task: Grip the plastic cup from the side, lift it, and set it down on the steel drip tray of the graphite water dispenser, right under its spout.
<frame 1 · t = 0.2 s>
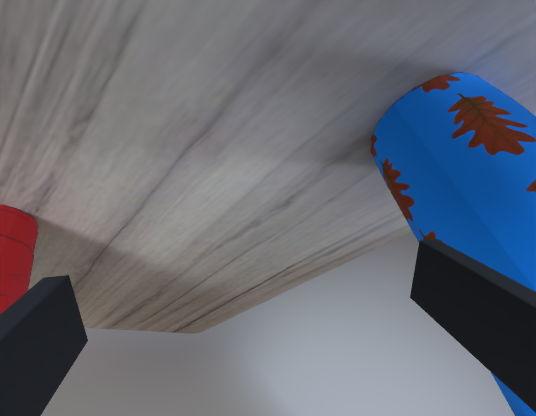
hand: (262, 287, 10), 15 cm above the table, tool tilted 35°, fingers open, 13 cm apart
plastic cup: (6, 219, 27), on the table
thermos: (424, 126, 25), on the table
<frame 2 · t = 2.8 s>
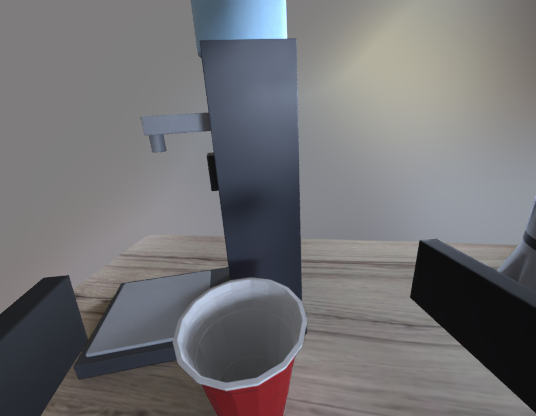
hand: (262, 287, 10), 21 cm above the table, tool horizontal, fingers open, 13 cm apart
plastic cup: (252, 415, 25), on the table
water dispenser: (163, 317, 39), on the table
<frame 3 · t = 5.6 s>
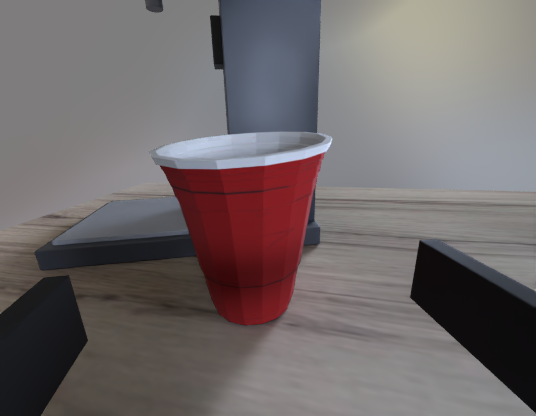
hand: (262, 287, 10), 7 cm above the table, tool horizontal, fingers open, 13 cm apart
plastic cup: (251, 302, 20), on the table
water dispenser: (151, 231, 33), on the table
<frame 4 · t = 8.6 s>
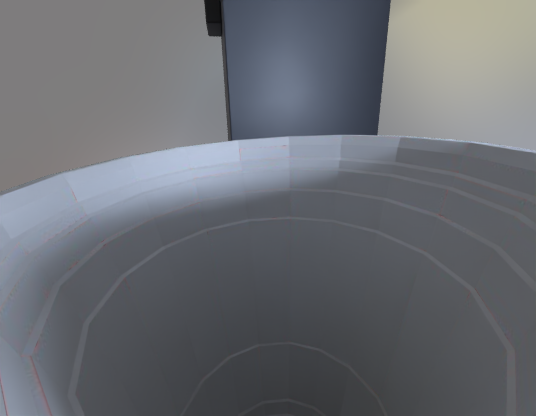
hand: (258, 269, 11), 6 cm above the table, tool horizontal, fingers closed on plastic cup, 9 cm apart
water dispenser: (115, 279, 22), on the table
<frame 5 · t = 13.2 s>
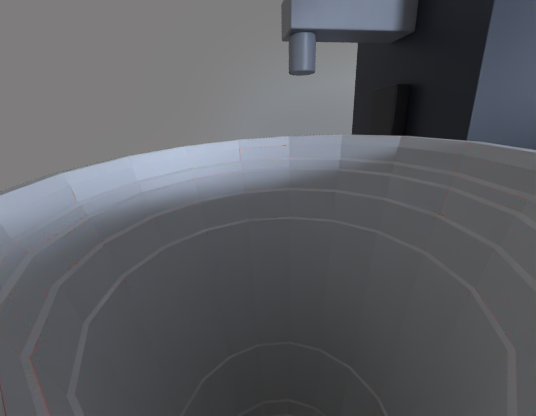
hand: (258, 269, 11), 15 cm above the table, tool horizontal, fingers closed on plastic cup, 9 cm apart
water dispenser: (254, 377, 23), on the table
when the fingers open (9 cm above the table, at t = 18.0 s): plastic cup stays where it is, resting on water dispenser.
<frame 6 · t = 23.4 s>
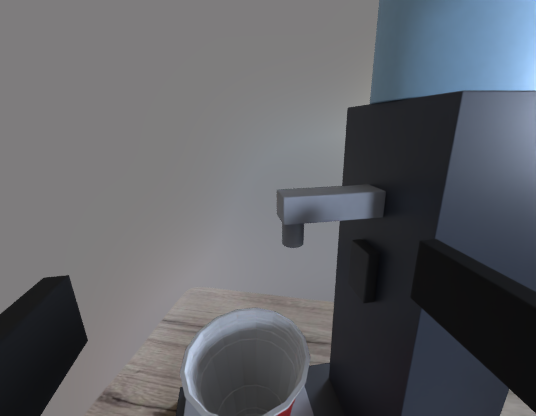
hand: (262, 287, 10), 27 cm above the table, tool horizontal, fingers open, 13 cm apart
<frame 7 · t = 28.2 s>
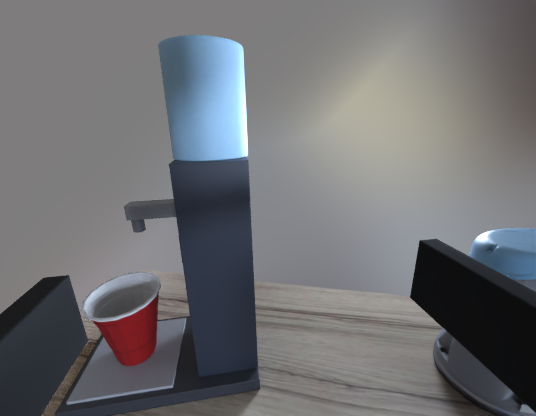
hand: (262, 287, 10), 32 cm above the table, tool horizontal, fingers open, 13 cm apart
plastic cup: (136, 353, 43), point 2 cm above the table, touching water dispenser
water dispenser: (139, 364, 44), on the table
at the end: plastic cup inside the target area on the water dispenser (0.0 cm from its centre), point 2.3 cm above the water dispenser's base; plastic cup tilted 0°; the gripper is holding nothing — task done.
